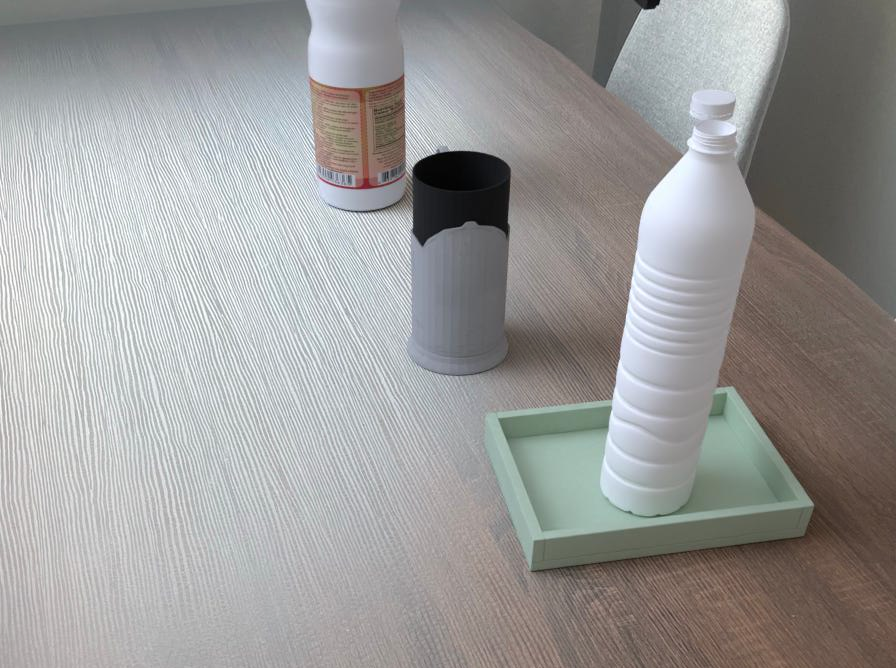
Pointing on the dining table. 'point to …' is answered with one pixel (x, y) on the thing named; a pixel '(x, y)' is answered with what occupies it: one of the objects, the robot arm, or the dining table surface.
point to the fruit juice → (358, 102)
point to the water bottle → (678, 317)
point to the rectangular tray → (623, 533)
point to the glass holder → (459, 261)
